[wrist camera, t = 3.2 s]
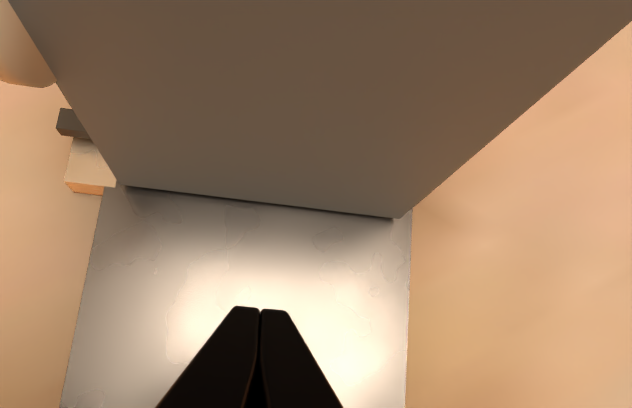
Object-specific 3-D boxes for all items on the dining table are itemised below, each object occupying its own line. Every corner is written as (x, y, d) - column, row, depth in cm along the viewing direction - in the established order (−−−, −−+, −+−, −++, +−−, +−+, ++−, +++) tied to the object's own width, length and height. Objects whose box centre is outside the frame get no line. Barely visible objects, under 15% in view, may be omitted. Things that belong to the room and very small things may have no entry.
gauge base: (391, 471, 16) (402, 479, 15) (17, 445, 15) (0, 451, 14) (418, -137, 22) (427, -161, 21) (156, -189, 21) (152, -217, 20)
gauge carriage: (398, 242, 16) (705, 20, 6) (46, 200, 15) (-379, -172, 5) (406, 67, 18) (656, -355, 7) (89, 18, 17) (-153, -564, 6)
